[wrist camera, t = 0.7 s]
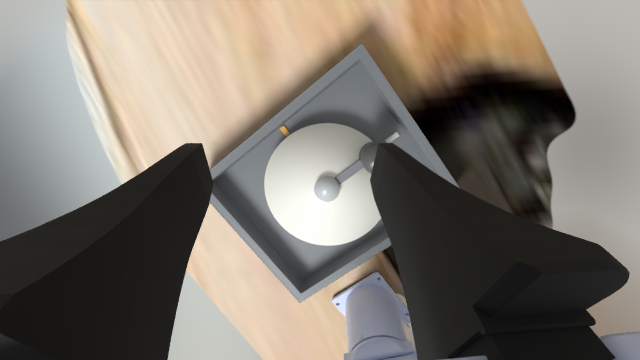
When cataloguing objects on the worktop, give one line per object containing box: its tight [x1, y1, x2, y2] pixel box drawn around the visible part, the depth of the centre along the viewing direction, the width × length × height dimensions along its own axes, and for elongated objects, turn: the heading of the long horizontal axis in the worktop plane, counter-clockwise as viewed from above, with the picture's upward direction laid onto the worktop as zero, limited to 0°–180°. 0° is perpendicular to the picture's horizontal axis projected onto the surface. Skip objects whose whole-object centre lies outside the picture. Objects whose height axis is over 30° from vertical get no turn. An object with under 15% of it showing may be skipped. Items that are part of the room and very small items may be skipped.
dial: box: [264, 123, 381, 246], centre depth 28 cm, size 16×15×5 cm
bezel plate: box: [210, 44, 459, 303], centre depth 30 cm, size 20×24×4 cm
